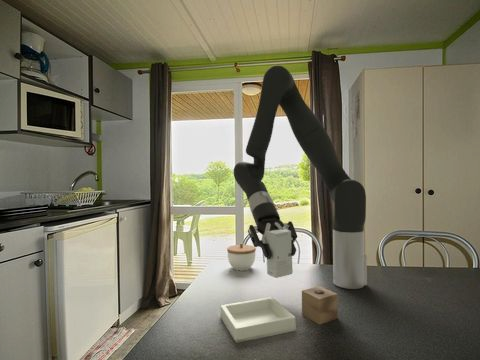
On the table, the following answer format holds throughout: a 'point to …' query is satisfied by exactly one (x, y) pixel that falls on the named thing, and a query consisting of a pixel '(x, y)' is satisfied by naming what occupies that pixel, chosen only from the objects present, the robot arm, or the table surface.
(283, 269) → the skincare box
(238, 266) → the lidded jar
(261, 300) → the tray
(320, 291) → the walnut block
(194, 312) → the table surface
